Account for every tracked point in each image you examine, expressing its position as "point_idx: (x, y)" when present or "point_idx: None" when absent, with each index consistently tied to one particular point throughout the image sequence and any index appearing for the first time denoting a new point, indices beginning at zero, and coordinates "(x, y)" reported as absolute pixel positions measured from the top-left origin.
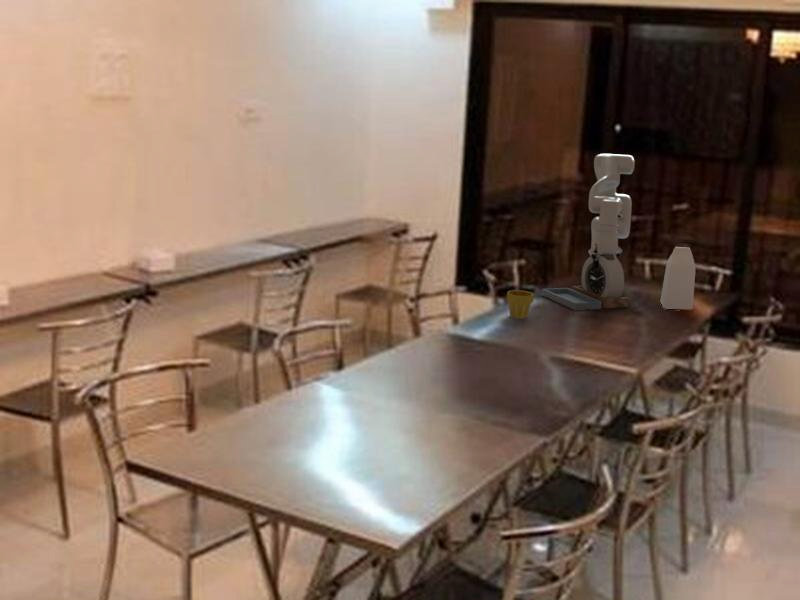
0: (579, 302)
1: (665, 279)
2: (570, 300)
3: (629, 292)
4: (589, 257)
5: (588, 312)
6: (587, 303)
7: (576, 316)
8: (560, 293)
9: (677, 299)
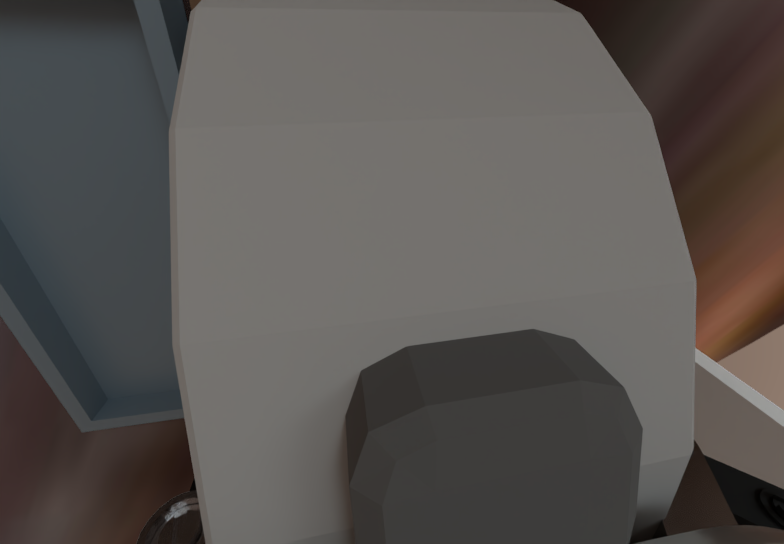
0: (116, 419)
1: (699, 434)
2: (60, 384)
3: (703, 33)
4: (175, 286)
5: (175, 426)
6: (172, 415)
7: (88, 477)
8: (71, 6)
9: None
